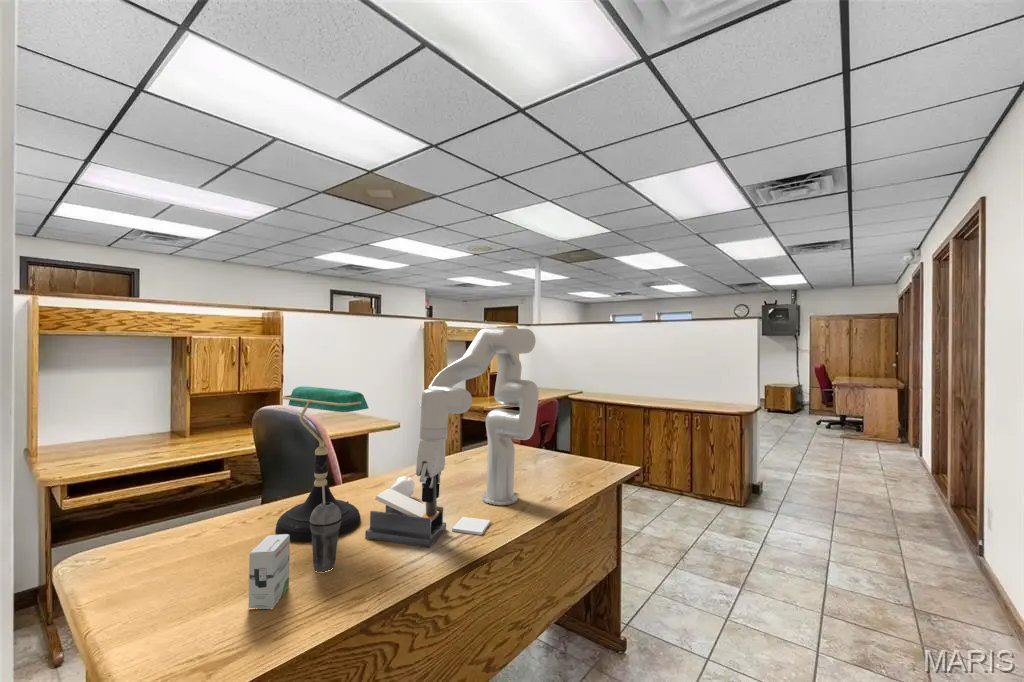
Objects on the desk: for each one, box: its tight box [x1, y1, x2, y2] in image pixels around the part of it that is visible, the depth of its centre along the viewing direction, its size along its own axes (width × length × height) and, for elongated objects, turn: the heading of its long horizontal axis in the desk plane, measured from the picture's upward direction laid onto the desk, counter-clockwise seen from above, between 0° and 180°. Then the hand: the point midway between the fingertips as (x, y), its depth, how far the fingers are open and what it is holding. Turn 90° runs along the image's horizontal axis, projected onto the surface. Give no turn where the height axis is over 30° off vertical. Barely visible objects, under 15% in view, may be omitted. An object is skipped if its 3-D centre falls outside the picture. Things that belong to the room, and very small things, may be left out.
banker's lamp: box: [274, 385, 369, 543], centre depth 132 cm, size 26×23×40 cm
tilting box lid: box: [374, 487, 439, 522], centre depth 127 cm, size 17×7×1 cm, turn 77°
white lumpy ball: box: [390, 476, 415, 498], centre depth 155 cm, size 8×8×8 cm
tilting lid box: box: [364, 505, 447, 548], centre depth 127 cm, size 19×12×7 cm, turn 77°
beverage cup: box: [309, 486, 342, 573], centre depth 107 cm, size 7×7×20 cm
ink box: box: [248, 534, 291, 609], centre depth 94 cm, size 9×5×12 cm, turn 5°
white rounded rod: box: [425, 474, 438, 516], centre depth 125 cm, size 3×3×12 cm
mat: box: [451, 516, 491, 536], centre depth 133 cm, size 9×9×1 cm
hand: (430, 498), depth 125 cm, fingers closed on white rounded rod, 3 cm apart
